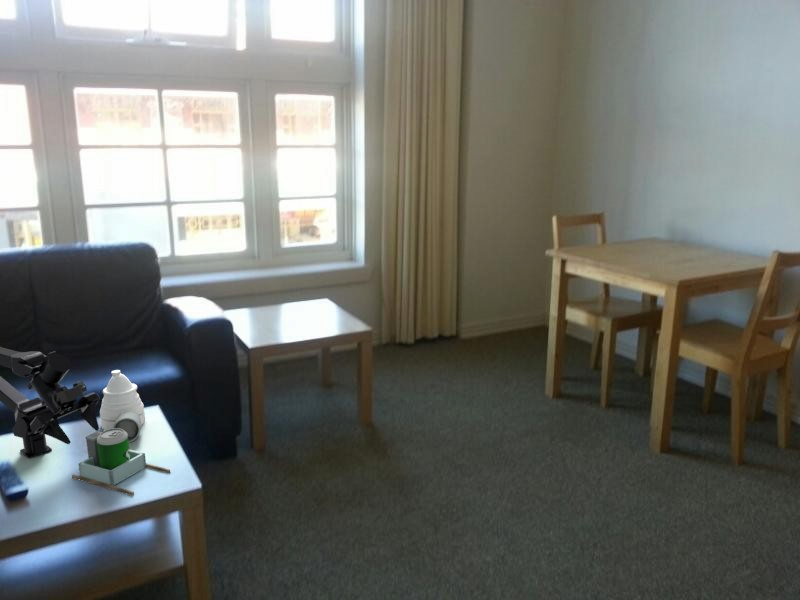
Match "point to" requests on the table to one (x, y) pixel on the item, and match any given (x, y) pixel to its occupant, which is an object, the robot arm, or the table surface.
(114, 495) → the table surface
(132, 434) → the ceramic mug
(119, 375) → the honey pot
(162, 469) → the track
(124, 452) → the soda can
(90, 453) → the pale green open tray
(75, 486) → the table surface
